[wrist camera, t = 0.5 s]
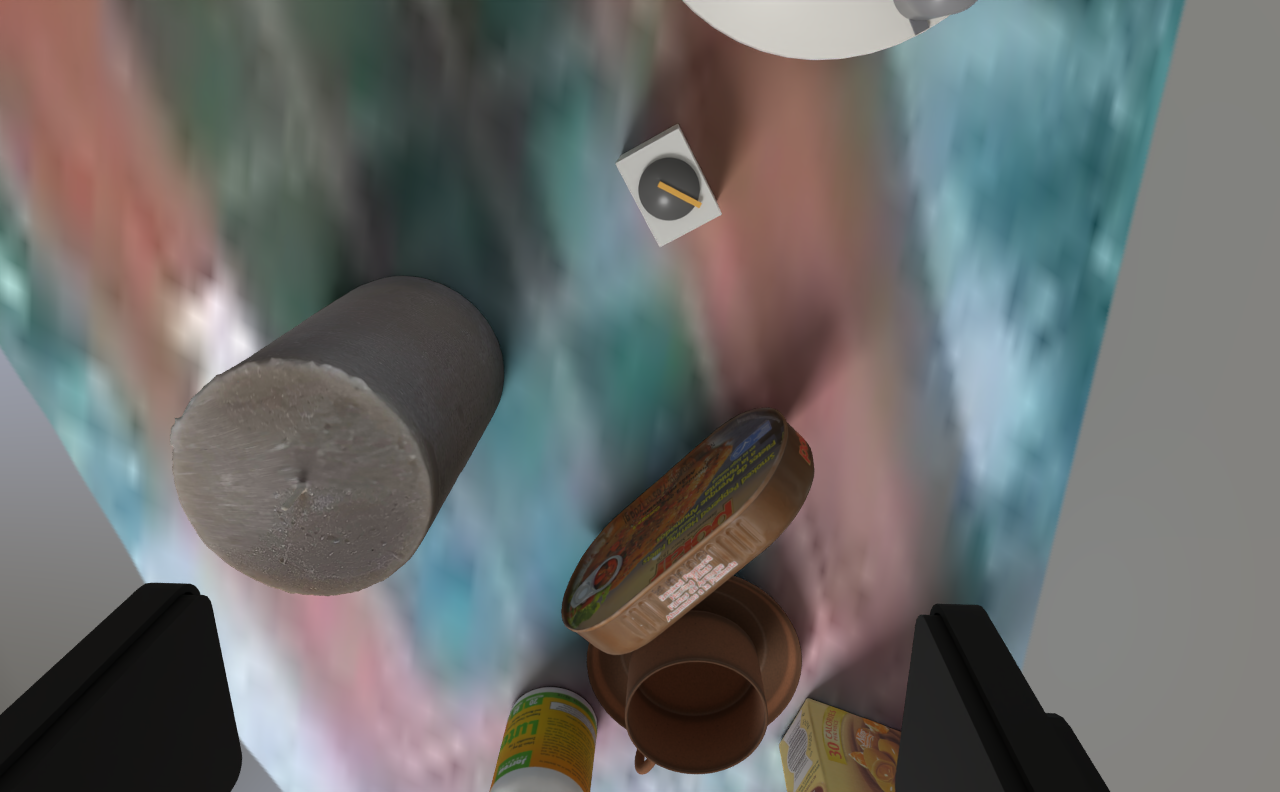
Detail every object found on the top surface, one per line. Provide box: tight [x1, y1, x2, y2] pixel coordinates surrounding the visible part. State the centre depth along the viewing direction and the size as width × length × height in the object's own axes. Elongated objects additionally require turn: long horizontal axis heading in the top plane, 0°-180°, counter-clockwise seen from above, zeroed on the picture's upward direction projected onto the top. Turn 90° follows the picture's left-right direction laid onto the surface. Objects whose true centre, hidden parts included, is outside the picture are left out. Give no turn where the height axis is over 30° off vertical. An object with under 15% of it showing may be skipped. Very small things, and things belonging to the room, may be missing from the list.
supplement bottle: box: [490, 687, 597, 792], centre depth 46 cm, size 5×5×10 cm
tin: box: [561, 408, 814, 655], centre depth 41 cm, size 15×3×8 cm, turn 134°
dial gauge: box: [615, 124, 722, 247], centre depth 37 cm, size 4×3×4 cm
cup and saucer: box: [587, 576, 802, 774], centre depth 46 cm, size 12×12×6 cm
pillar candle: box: [170, 276, 504, 596], centre depth 36 cm, size 10×10×15 cm
